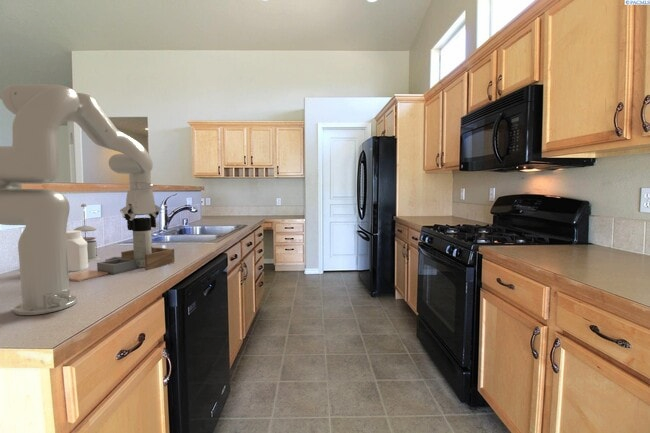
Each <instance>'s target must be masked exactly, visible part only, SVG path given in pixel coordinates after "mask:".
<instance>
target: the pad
mask: <svg viewBox="0 0 650 433" xmlns="http://www.w3.org/2000/svg"><path fill="white" fill-rule="evenodd" d="M105 275H109V274H108V272H101V271H97V270H96V269H95V270H94V269H86V270H81V271H77V272H74V273H69V281H74V282H81V281H85V280H90V279H94V278H98V277H101V276H105Z"/></svg>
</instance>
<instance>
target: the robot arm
mask: <svg viewBox="0 0 650 433" xmlns="http://www.w3.org/2000/svg"><path fill="white" fill-rule="evenodd" d="M1 101H2V104H3V105H4V107H5V108H6V109H7V110H8V111H9V112H11V114H14V115H15V116H14V119H13V121H12V128H11V129H12V145H11V146H9V145H8V146H4V145H3V146H0V225H3V226H25V227H24V229H23V231H22V233H21V234H20V236H19V239H18V242H17V249H18V250H17V252H18V262H19V263H18V264H19V277H20V289H21V303H19V304H17V305H16V306H15V307H14V308H13V310H14V314H16V315H19V316H36V315H43V314H49V313H53V312H58V311H62V310H64V309H67V308H70V307H72V306H74V305H75V304H76V303H77V302H78V297H77V296H76V295H74V294H71V291H70V290H71V289H70V280H69V274H70V273H69V272H68V256H67V240H66V231H67V229H68V228H67V227H68V221H69V220H68V219H69V215H70V208H71V207H70V203H69V200H68V199H67V197H66V196H65V195H64V194H62V193H60V192H58V191H56V190H52V189H45V188H22V185H29V184H31V185H41V184H49V183H53V182H55V181H56V180H57V179H58V178H59V175H60V161H59V160H60V159H59V158H60V157H59V140H58V138H59V137H58V136H59V134H58V133H59V129H60V127H61V125H62V124H63V123H64V122H72V123H76V124H77V125H78V126H79V128H80V129H81V130H82V131H83V132H84V133H85V134H86V136H87V137H88V138H89V139H90V140H91V141H92V143H94V144H96V145H97V146H100V147H102V148H105V149H108V150H112V151H116V152H119V153H115V154H113V155H111V156H110V158H109V159H108V166H109V169H110V170H112V171H113V172H114V173H117V174H121V175H123V174H124V175H128V178H129V179H128V180H129V190H127V193H126V198H125V200H126V201H125V206H124V207H123V208H121V209H120V213H121V215H122V217H123V218H124V219H125V221H126V223H127V224H126V225H127V230H128V231H133V230H135V221H134V220H133V219H134V218H136V216H146V215H147V216H148V217H149V218H151V228H156V227H157V218H158V216H159V214H160V211H161V206H159V205H156V202H155V196H154V192H153V190H152V188H154V186H153V184H152V176H151V175H152V173H151V172H152V170H153V168H154V165H153V160H152V158H151V156H150V154H149V153H148V151H147V149H146V148H145V147H144V145H142V144H141V143H140V142H139V141H138V140H136V139H135V138H133V137H131V136H130V135H128V134H126V133H125V132H122V131H120V130H119V129H118V128H117V127H116V126H115V124H114V123H113V122H112V120H111V119H110V118H109V116H108V115H107V114H106V112H105V111H104V109H103V108H102V107H101V106H100V104H99V103H98V101H97V100H96V99H95V98H94V97H93V96H91V95H90V94H86V93H84V92H82V93H81V92H76V90H74V89H73V88H71V87H69V86H65V85H61V84H50V83H48V84H43V83H42V84H41V83H39V84H37V83H36V84H34V83H33V84H31V83H29V84H28V83H26V84H25V83H23V84H21V83H19V84H18V83H17V84H10V85H8V86H6V87H5V88H3V90H2V91H1Z"/></svg>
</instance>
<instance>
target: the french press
mask: <svg viewBox="0 0 650 433" xmlns="http://www.w3.org/2000/svg"><path fill="white" fill-rule="evenodd" d="M80 207H81V208H82V207H83V208H86V207H87V204H85V203H82V204H81V205H80ZM83 220H84V221H83V222H84V225H81V226H78V227H76V228H74V229H73V230H80V231H81V234H83V233H82V232H84V237H83V236H82V238H83V239H84V240H85V241H86V242H87V253H88V263H90V262H96V261H99V260H101V258H100V257H99V256H98V246H97V245H98V244H97V243H98V242H97V240H95V239H96V237H94V236H93V237H92V236H90V237H86V236H87V235H86V232H94V231H97V228H96V227H94V226H90V225H86V217H85V212H83Z"/></svg>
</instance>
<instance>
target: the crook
mask: <svg viewBox="0 0 650 433" xmlns="http://www.w3.org/2000/svg"><path fill="white" fill-rule="evenodd" d="M118 258H122V256H112V257H109V258H106V259H105V261H109V260H114V259H118Z"/></svg>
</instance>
